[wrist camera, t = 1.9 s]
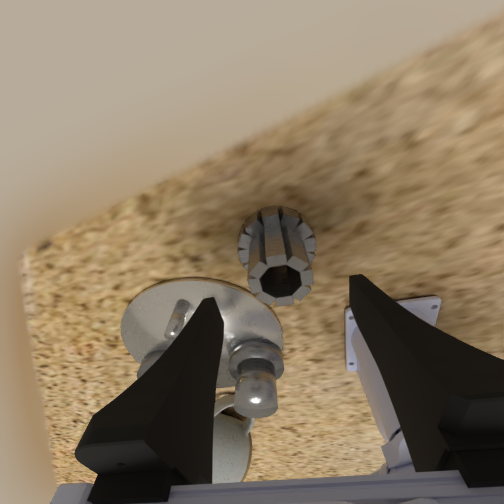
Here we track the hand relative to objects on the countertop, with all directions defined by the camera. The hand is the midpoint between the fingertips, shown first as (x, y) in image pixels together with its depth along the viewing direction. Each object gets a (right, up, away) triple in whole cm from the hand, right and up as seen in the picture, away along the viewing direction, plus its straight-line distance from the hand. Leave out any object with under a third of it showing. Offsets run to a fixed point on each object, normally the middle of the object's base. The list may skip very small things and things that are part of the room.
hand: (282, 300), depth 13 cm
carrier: (-7, -6, +12) cm, 15 cm away
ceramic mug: (-6, -19, +20) cm, 28 cm away
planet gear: (0, +3, +6) cm, 7 cm away
